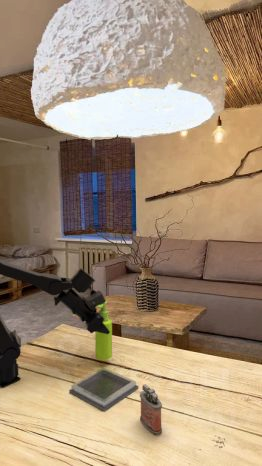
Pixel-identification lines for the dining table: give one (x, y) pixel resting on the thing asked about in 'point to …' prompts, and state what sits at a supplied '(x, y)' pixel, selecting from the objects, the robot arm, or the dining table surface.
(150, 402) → the lighter
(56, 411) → the dining table surface
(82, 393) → the holder
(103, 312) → the soap dispenser
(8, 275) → the robot arm
